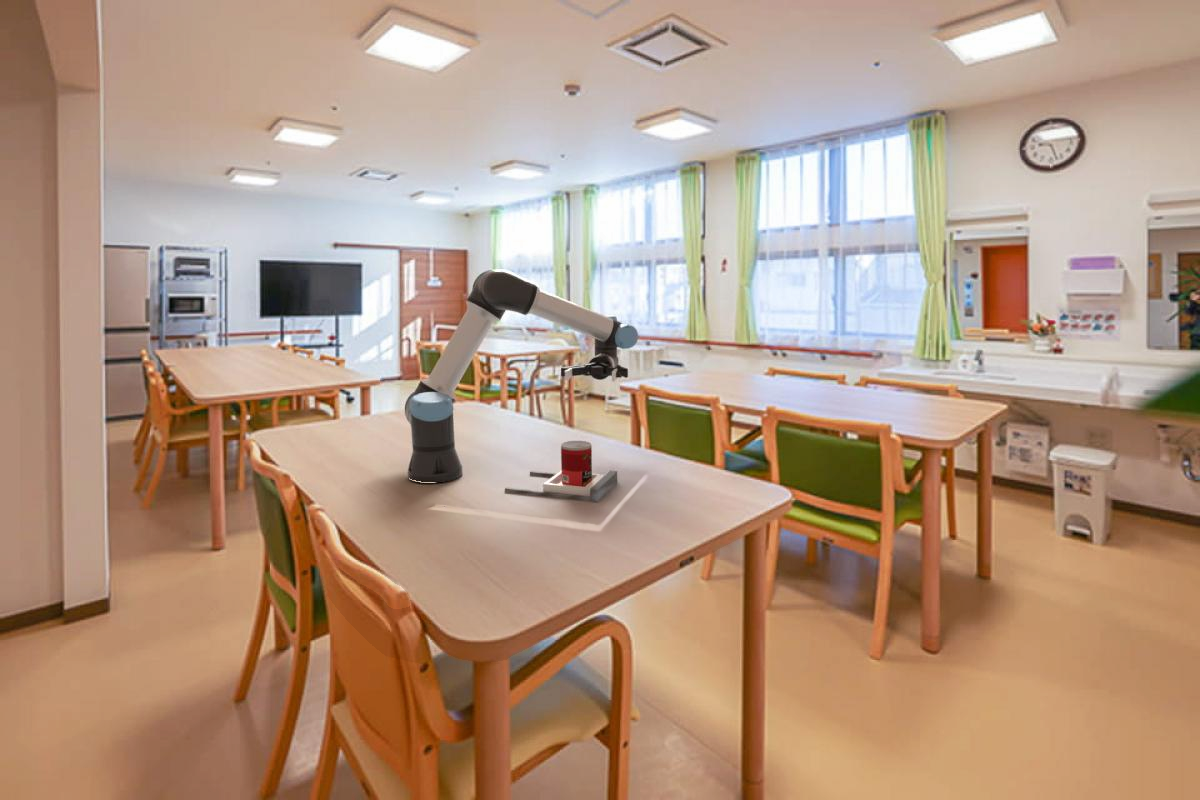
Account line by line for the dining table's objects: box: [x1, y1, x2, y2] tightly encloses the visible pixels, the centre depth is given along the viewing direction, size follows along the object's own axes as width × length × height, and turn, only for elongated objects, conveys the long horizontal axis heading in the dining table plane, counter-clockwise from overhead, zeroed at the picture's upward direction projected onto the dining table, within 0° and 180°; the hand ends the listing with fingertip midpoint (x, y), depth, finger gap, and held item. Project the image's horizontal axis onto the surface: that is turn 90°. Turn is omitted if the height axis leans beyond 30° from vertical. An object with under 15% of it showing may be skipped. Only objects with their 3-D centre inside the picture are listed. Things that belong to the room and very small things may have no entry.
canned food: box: [560, 440, 593, 487], centre depth 158 cm, size 8×8×11 cm
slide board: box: [504, 470, 618, 503], centre depth 160 cm, size 27×16×4 cm, turn 71°
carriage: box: [542, 470, 606, 496], centre depth 159 cm, size 14×12×2 cm
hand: (589, 376), depth 174 cm, fingers open, 13 cm apart
